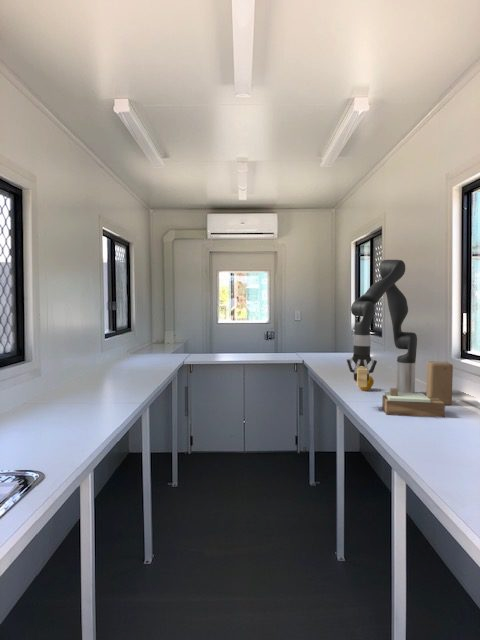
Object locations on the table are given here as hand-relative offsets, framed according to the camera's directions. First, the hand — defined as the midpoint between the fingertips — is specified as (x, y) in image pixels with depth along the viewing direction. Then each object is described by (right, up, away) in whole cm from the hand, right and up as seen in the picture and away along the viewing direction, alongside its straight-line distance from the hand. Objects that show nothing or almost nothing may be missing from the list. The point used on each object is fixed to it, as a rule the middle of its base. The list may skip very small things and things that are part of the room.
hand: (361, 381), depth 207 cm
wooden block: (+41, -13, +12) cm, 45 cm away
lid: (+19, -7, -7) cm, 21 cm away
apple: (+14, -11, +42) cm, 45 cm away
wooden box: (+21, -13, -7) cm, 26 cm away
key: (0, -2, 0) cm, 2 cm away
